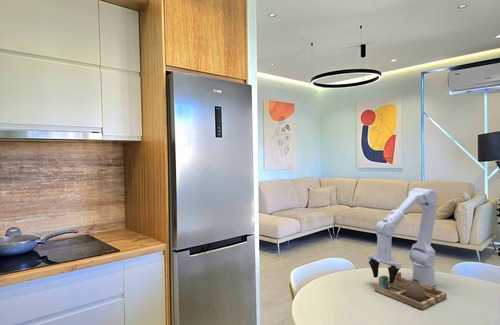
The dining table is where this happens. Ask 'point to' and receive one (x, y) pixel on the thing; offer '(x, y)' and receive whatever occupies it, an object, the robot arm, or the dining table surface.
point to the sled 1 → (402, 293)
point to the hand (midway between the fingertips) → (383, 279)
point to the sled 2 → (439, 294)
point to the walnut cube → (429, 289)
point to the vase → (415, 291)
